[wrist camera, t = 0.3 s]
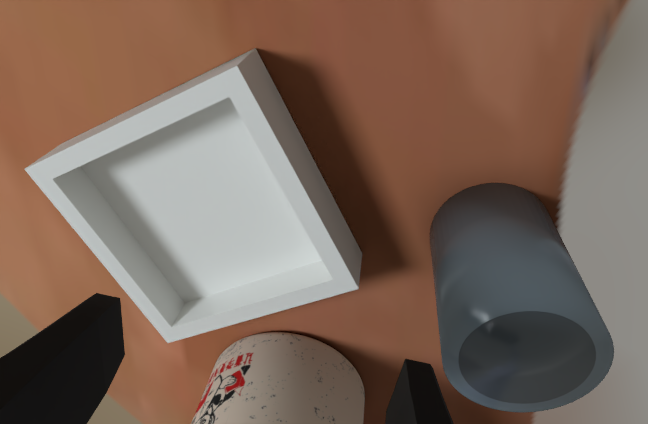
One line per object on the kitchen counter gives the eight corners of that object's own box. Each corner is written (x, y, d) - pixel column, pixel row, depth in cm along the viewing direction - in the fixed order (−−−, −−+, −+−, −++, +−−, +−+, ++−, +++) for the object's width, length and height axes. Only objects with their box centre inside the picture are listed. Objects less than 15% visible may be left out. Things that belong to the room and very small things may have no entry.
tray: (362, 253, 22) (358, 288, 20) (186, 307, 26) (167, 342, 23) (255, 47, 18) (237, 65, 16) (61, 143, 21) (24, 169, 19)
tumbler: (562, 261, 21) (627, 397, 15) (450, 291, 23) (469, 424, 17) (534, 165, 19) (596, 279, 13) (413, 206, 21) (419, 323, 15)
